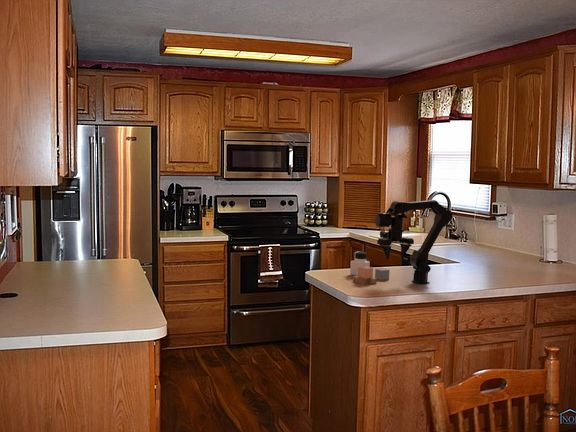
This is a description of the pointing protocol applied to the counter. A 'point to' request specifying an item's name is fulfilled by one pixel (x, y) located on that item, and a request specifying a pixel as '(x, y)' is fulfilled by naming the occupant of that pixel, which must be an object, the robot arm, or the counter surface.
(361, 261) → the medicine bottle
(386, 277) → the grey cube
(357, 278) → the walnut slab
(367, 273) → the terracotta cube
